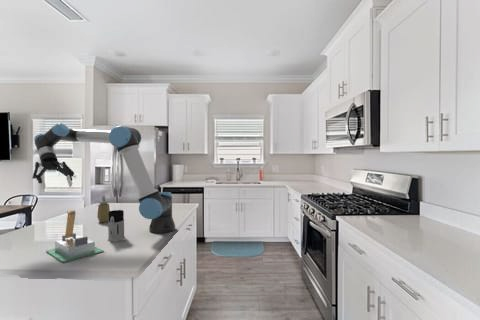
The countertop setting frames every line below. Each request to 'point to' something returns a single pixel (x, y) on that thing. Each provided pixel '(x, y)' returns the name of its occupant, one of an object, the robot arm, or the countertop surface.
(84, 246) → the green base fixture
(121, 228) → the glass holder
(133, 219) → the countertop surface
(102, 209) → the squeeze bottle
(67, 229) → the tan rectangular bar
